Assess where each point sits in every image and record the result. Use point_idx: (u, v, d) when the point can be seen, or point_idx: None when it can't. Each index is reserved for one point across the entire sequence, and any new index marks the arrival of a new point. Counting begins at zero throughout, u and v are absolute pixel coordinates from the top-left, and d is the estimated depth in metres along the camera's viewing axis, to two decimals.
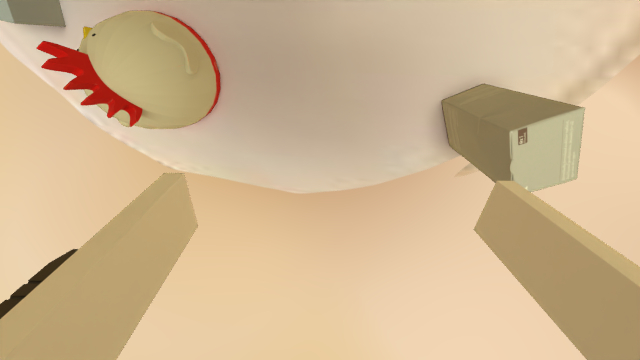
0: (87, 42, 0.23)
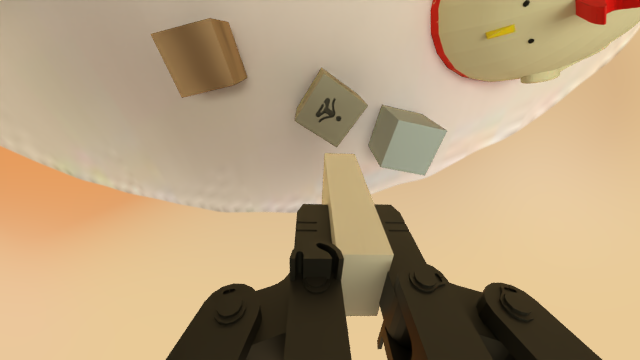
0: (539, 10, 0.16)
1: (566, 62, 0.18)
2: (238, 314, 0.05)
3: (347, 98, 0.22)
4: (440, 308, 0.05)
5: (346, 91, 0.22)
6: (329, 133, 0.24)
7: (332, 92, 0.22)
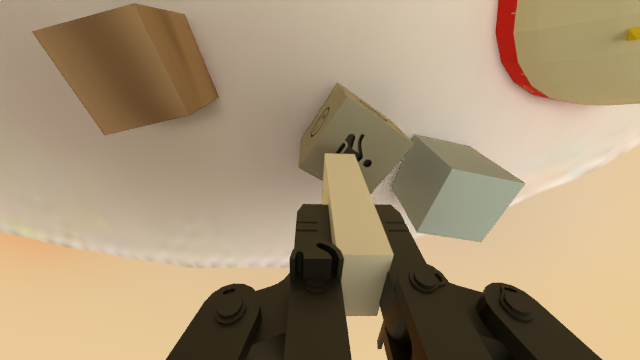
0: None
1: None
2: (238, 314, 0.05)
3: (383, 134, 0.14)
4: (440, 308, 0.05)
5: (382, 123, 0.14)
6: None
7: (359, 125, 0.14)
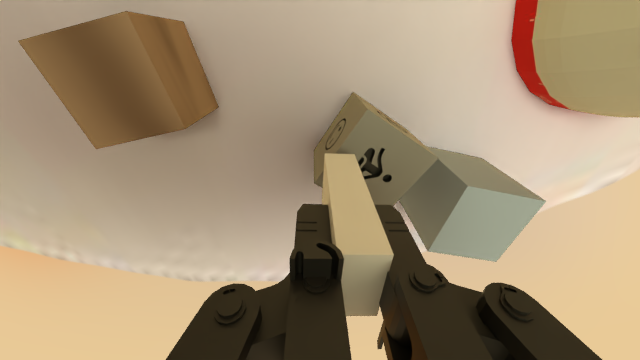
0: None
1: None
2: (238, 314, 0.05)
3: (405, 148, 0.13)
4: (440, 308, 0.05)
5: (404, 137, 0.13)
6: None
7: (380, 139, 0.13)
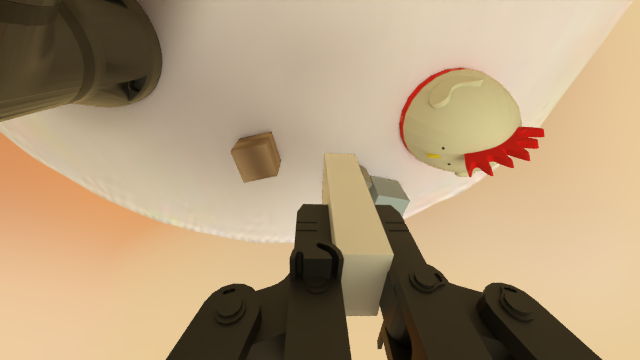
0: (449, 153, 0.29)
1: None
2: (238, 314, 0.05)
3: None
4: (440, 308, 0.05)
5: None
6: None
7: None
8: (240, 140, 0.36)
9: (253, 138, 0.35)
